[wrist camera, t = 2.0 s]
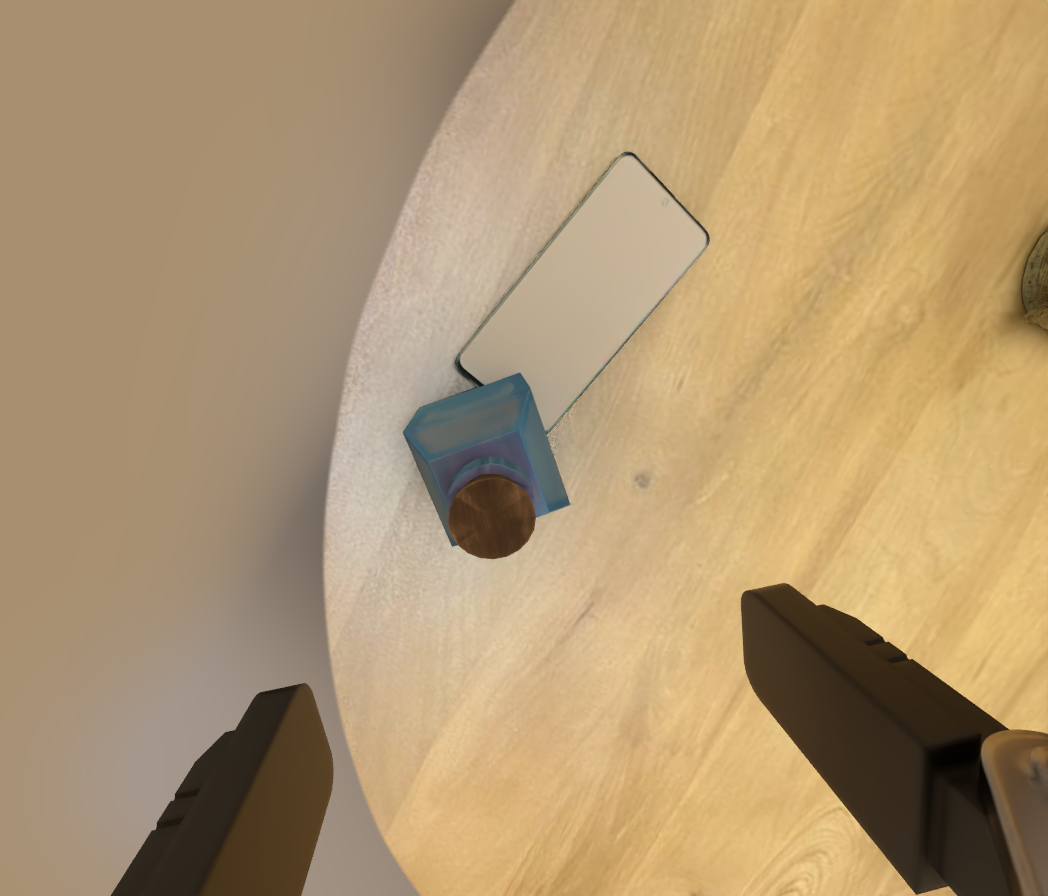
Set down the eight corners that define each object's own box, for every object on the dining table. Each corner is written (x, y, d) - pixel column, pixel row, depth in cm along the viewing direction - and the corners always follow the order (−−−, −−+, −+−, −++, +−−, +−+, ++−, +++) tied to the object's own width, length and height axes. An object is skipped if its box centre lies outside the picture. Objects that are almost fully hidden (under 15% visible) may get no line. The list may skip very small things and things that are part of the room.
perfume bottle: (552, 467, 30) (597, 562, 18) (458, 500, 30) (443, 617, 18) (519, 371, 28) (546, 411, 17) (419, 407, 28) (376, 471, 17)
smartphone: (450, 364, 27) (627, 145, 26) (450, 363, 28) (624, 149, 26) (542, 440, 29) (714, 239, 27) (541, 438, 29) (710, 240, 28)
